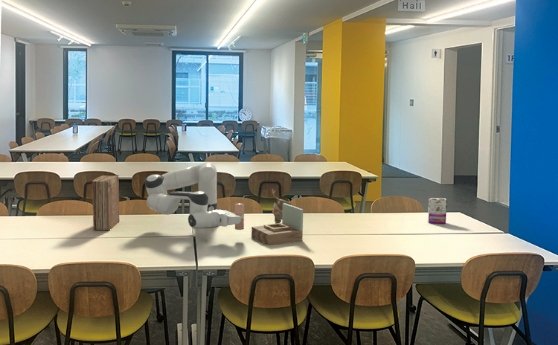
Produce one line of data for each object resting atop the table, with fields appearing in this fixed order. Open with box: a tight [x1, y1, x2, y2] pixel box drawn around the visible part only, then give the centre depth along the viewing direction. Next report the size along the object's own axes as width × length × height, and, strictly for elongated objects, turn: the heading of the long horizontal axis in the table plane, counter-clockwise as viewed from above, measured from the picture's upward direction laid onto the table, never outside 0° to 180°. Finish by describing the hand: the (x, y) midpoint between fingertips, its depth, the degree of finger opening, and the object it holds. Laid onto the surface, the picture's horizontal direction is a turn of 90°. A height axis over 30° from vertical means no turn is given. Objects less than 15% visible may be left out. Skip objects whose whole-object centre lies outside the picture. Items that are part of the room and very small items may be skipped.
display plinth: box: [250, 203, 304, 246], centre depth 312 cm, size 20×22×18 cm
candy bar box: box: [427, 197, 448, 225], centre depth 362 cm, size 11×5×16 cm, turn 81°
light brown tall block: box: [234, 202, 245, 231], centre depth 307 cm, size 5×5×14 cm
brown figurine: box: [271, 187, 292, 224], centre depth 337 cm, size 11×13×25 cm
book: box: [91, 174, 120, 232], centre depth 333 cm, size 25×9×30 cm, turn 3°
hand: (240, 215), depth 308 cm, fingers closed on light brown tall block, 5 cm apart
